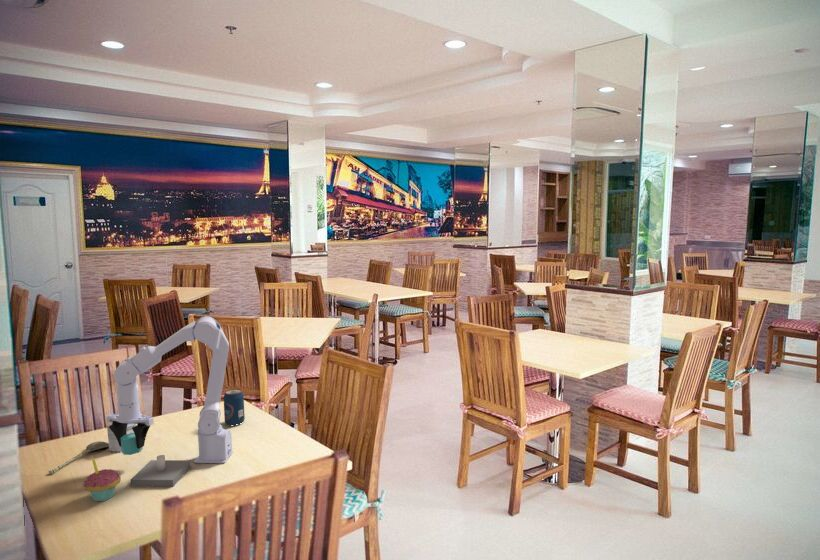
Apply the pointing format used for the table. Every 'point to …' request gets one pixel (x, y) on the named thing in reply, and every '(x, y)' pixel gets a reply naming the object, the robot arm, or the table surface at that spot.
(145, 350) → the robot arm
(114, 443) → the medicine box
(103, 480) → the cupcake
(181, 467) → the stud stand
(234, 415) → the soda can
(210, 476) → the table surface
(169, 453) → the table surface
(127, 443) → the cap
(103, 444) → the soupspoon
